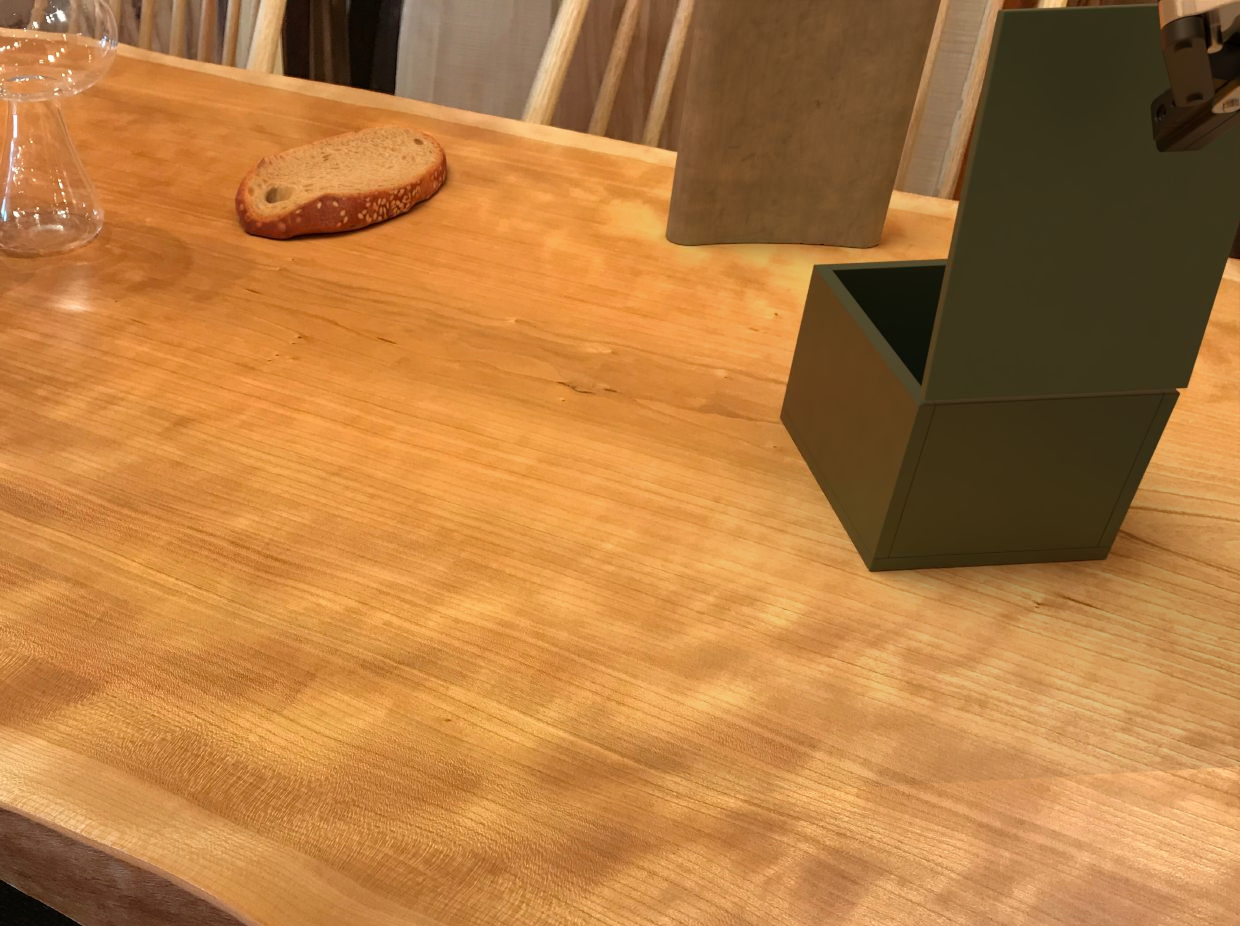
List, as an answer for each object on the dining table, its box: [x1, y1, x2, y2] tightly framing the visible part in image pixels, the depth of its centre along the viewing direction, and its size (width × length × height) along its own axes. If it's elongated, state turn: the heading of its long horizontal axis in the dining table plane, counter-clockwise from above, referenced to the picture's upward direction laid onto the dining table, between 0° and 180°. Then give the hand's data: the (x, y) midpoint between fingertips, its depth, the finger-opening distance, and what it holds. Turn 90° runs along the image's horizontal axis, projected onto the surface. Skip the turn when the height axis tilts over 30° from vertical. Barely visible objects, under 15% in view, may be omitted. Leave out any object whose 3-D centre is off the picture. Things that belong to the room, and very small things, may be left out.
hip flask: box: [665, 0, 942, 249], centre depth 93 cm, size 16×4×20 cm, turn 85°
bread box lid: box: [920, 2, 1240, 401], centre depth 57 cm, size 16×13×1 cm
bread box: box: [779, 258, 1181, 572], centre depth 71 cm, size 16×13×10 cm
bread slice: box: [234, 123, 448, 239], centre depth 106 cm, size 18×18×4 cm
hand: (1173, 128), depth 52 cm, fingers closed
